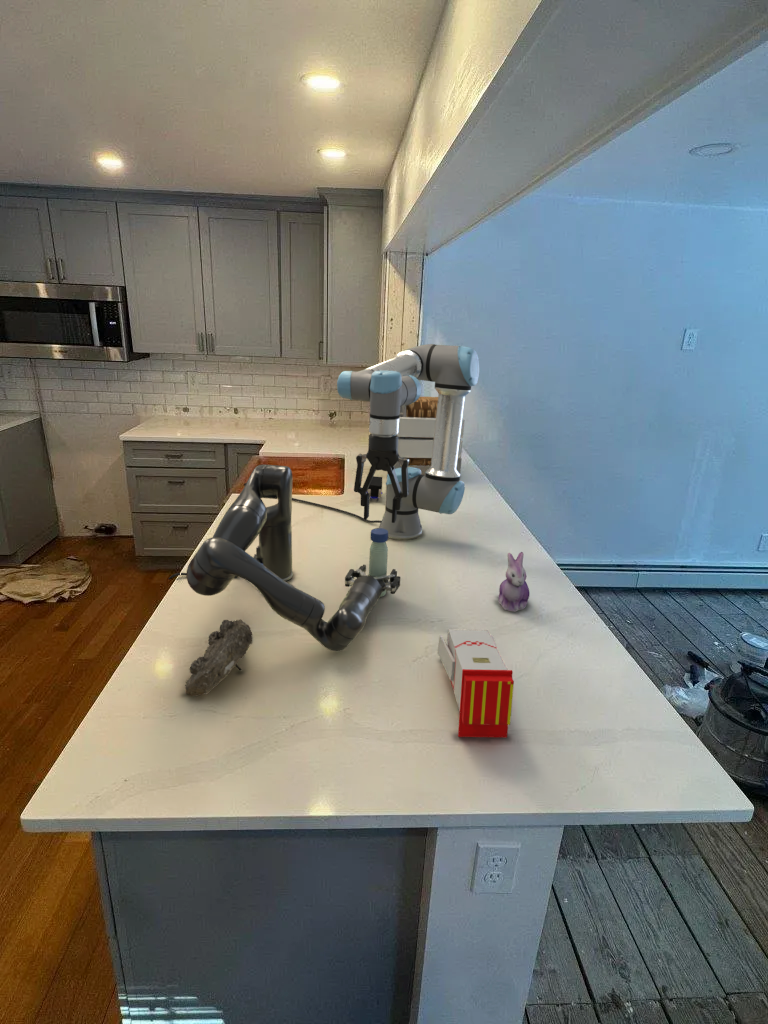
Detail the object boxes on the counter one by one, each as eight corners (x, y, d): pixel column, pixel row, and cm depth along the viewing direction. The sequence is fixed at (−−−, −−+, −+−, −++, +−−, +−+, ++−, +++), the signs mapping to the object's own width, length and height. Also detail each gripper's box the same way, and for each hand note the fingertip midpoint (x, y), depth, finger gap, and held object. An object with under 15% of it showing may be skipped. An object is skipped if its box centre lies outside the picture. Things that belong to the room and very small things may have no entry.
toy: (488, 613, 130) (523, 677, 101) (484, 667, 133) (517, 744, 104) (435, 612, 130) (455, 676, 101) (432, 666, 133) (451, 743, 103)
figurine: (511, 616, 149) (518, 564, 143) (487, 598, 157) (493, 549, 152) (539, 609, 153) (547, 558, 148) (514, 592, 161) (521, 544, 156)
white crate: (382, 463, 289) (386, 382, 275) (445, 464, 293) (451, 384, 279) (390, 482, 257) (394, 392, 243) (460, 483, 261) (468, 394, 247)
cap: (370, 535, 155) (370, 527, 154) (387, 536, 155) (387, 528, 154) (370, 542, 150) (370, 534, 149) (388, 543, 150) (388, 534, 150)
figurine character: (382, 506, 231) (382, 491, 244) (383, 489, 227) (382, 474, 241) (366, 505, 230) (366, 490, 244) (366, 488, 227) (367, 474, 240)
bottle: (367, 588, 160) (370, 529, 154) (385, 588, 160) (388, 529, 154) (368, 596, 156) (370, 535, 149) (386, 597, 156) (389, 536, 150)
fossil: (205, 622, 132) (252, 592, 127) (234, 650, 134) (280, 621, 129) (164, 690, 112) (217, 657, 107) (198, 721, 115) (251, 691, 110)
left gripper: (335, 604, 146) (354, 578, 161) (389, 614, 142) (403, 585, 157) (336, 578, 143) (355, 553, 158) (390, 587, 140) (405, 561, 155)
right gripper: (424, 434, 144) (419, 518, 152) (349, 428, 148) (347, 510, 156) (420, 440, 138) (414, 528, 145) (341, 433, 141) (340, 519, 149)
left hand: (379, 569), depth 158 cm, fingers open, 8 cm apart
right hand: (380, 519), depth 151 cm, fingers open, 7 cm apart
